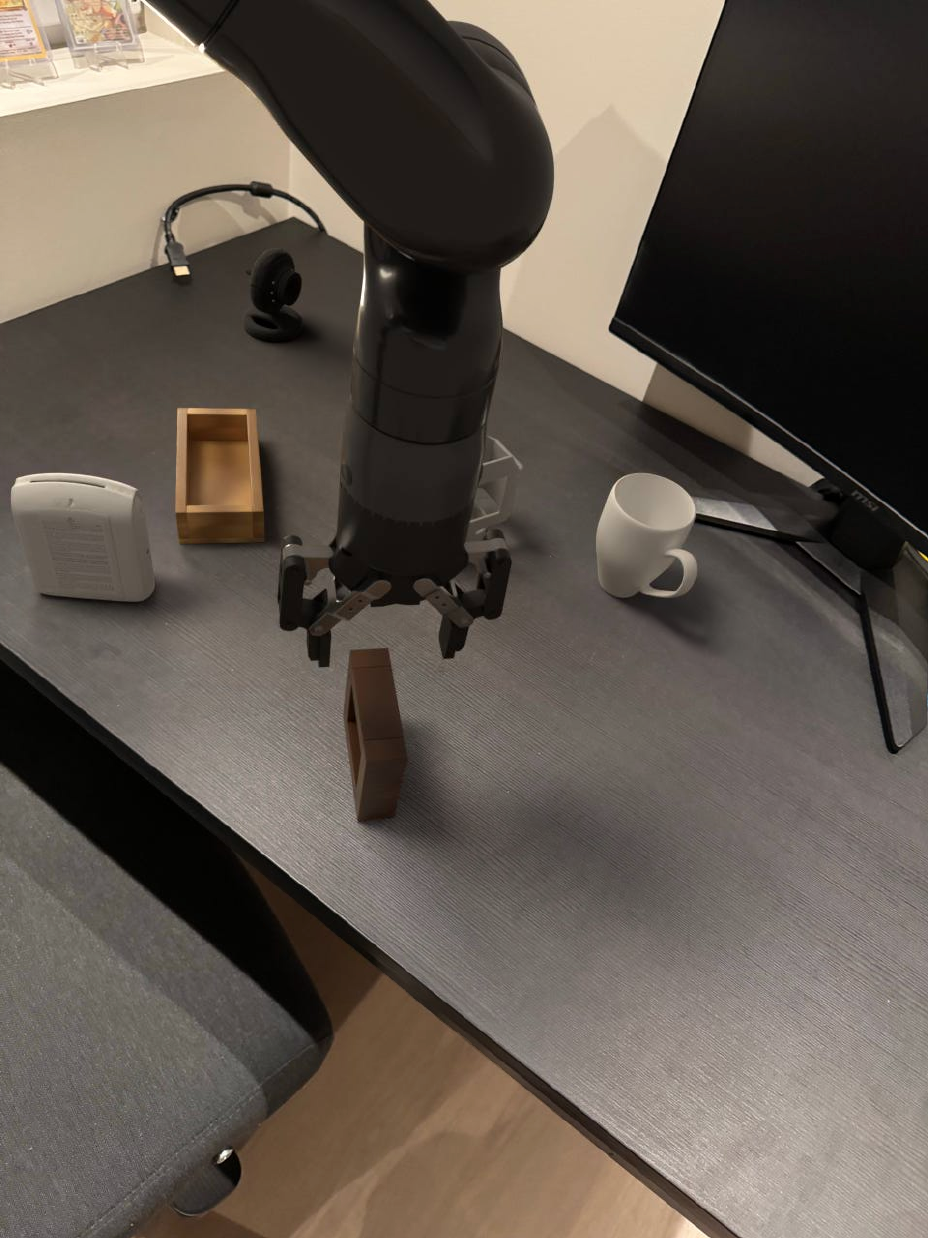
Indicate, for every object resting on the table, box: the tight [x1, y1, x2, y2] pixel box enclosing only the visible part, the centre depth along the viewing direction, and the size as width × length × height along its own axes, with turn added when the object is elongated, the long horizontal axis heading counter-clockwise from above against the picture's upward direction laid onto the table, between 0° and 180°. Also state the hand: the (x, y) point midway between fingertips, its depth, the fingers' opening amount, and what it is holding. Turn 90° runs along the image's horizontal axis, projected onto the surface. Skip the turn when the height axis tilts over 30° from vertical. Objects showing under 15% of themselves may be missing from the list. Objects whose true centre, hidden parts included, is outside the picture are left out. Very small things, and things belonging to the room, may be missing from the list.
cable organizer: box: [465, 433, 524, 542], centre depth 83 cm, size 7×12×12 cm, turn 123°
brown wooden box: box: [342, 647, 409, 823], centre depth 65 cm, size 3×10×9 cm, turn 11°
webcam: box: [242, 247, 304, 342], centre depth 104 cm, size 8×8×10 cm
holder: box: [174, 407, 265, 545], centre depth 86 cm, size 8×16×4 cm, turn 11°
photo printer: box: [10, 472, 156, 603], centre depth 72 cm, size 10×4×12 cm, turn 92°
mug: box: [595, 472, 698, 599], centre depth 82 cm, size 12×8×11 cm
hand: (384, 653), depth 58 cm, fingers open, 8 cm apart
